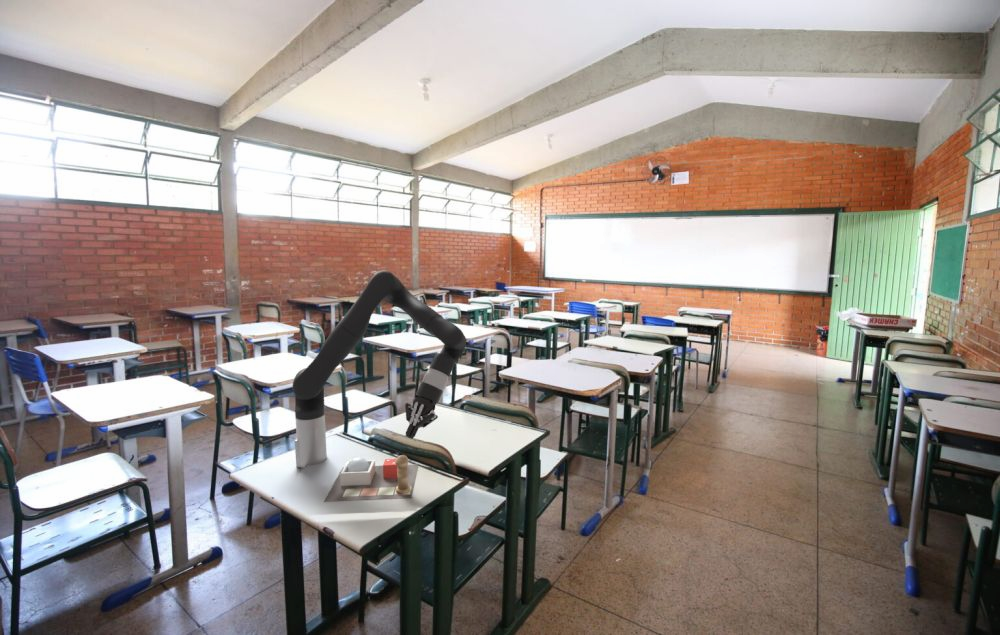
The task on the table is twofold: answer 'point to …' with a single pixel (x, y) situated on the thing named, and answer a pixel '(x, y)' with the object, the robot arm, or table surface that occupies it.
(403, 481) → the pawn
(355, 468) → the white ball
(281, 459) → the table surface
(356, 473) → the housing
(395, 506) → the table surface
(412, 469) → the board
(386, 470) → the die
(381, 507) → the table surface
